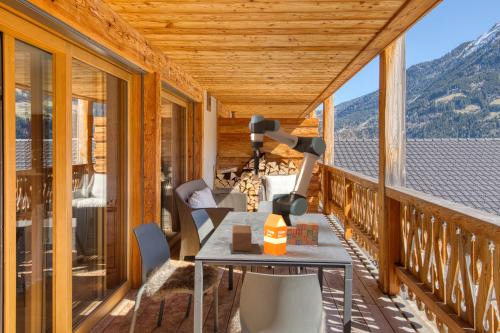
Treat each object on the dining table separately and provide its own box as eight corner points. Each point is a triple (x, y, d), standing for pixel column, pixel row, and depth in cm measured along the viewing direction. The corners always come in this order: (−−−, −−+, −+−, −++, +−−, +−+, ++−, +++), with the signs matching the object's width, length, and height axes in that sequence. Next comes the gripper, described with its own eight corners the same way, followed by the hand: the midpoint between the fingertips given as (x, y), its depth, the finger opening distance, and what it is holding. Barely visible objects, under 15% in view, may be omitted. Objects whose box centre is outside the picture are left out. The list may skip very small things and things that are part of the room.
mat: (258, 244, 244) (258, 243, 244) (261, 254, 224) (262, 252, 224) (229, 244, 243) (229, 243, 243) (230, 254, 223) (230, 252, 223)
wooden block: (250, 242, 245) (251, 251, 225) (232, 242, 245) (231, 251, 225) (250, 225, 245) (251, 232, 225) (232, 225, 244) (232, 232, 224)
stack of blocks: (279, 244, 248) (280, 222, 247) (280, 241, 254) (281, 220, 254) (317, 246, 244) (318, 224, 244) (318, 244, 250) (318, 222, 250)
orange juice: (274, 250, 234) (275, 212, 233) (286, 253, 227) (287, 215, 226) (263, 252, 229) (264, 214, 227) (275, 255, 222) (276, 216, 221)
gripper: (249, 140, 269) (249, 179, 270) (251, 140, 256) (250, 181, 257) (262, 141, 270) (261, 179, 271) (264, 141, 257) (263, 181, 258)
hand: (256, 180), depth 264 cm, fingers closed
